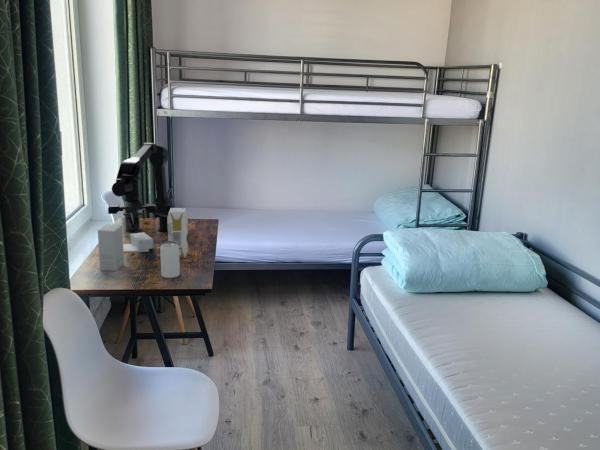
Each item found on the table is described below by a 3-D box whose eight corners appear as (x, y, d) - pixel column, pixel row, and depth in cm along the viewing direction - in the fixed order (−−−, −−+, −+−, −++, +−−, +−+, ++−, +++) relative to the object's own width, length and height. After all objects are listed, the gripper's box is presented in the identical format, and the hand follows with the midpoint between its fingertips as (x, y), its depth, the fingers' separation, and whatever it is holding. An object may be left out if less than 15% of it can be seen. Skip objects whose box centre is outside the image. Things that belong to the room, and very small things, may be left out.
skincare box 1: (108, 263, 192) (105, 223, 188) (125, 264, 192) (123, 224, 188) (99, 270, 184) (96, 229, 180) (117, 271, 184) (114, 230, 180)
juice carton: (168, 259, 199) (166, 212, 194) (170, 252, 207) (168, 207, 202) (187, 258, 200) (186, 212, 195) (189, 252, 208) (187, 207, 204)
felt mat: (120, 245, 214) (120, 244, 214) (150, 244, 217) (149, 243, 217) (118, 252, 205) (118, 251, 205) (148, 251, 208) (148, 250, 207)
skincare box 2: (130, 243, 216) (139, 250, 206) (130, 233, 215) (138, 240, 205) (144, 241, 219) (153, 248, 210) (144, 231, 218) (153, 238, 208)
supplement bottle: (127, 227, 242) (125, 203, 239) (141, 227, 243) (140, 203, 240) (123, 231, 236) (122, 206, 233) (138, 231, 236) (137, 206, 233)
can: (162, 279, 177) (161, 246, 174) (160, 273, 183) (158, 241, 180) (181, 277, 180) (180, 245, 177) (178, 271, 186) (177, 240, 183)
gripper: (105, 196, 197) (107, 234, 201) (154, 195, 201) (156, 233, 205) (108, 191, 208) (111, 227, 211) (155, 190, 212) (157, 226, 216)
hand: (133, 228), depth 211 cm, fingers closed
